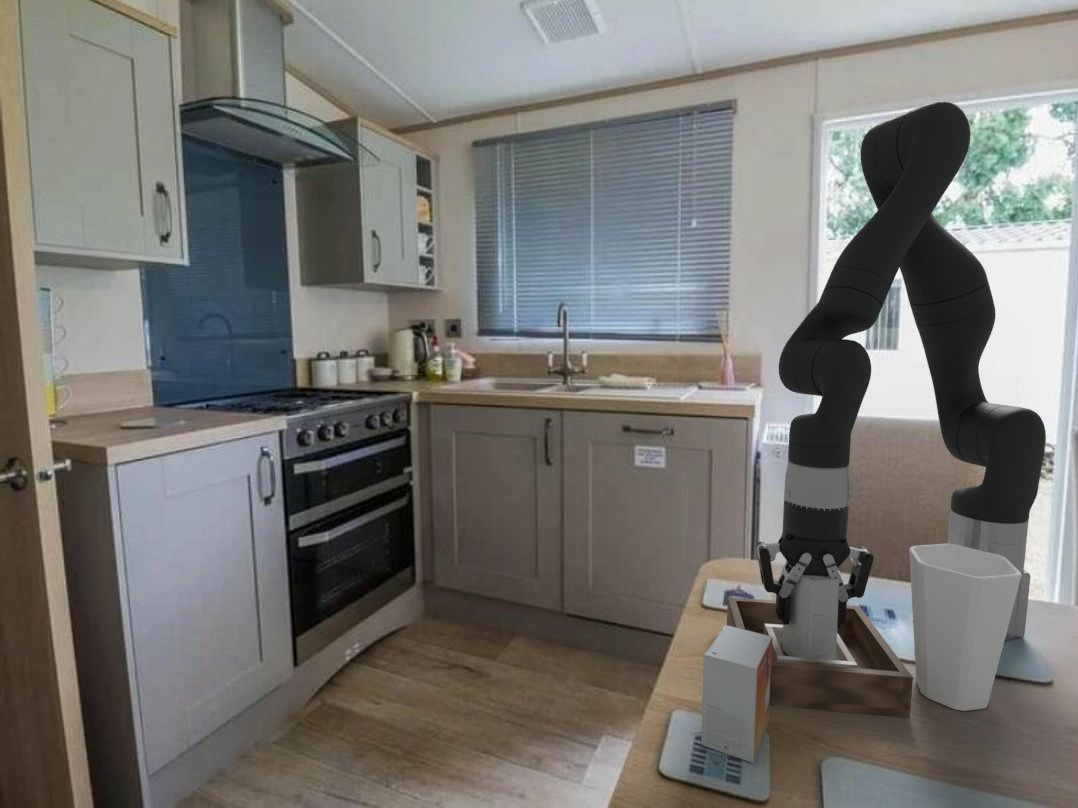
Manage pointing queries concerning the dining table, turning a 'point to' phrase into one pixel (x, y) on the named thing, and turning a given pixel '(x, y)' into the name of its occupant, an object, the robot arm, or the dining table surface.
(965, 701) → the cup
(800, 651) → the skincare box
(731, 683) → the small box
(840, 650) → the walled box
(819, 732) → the dining table surface
